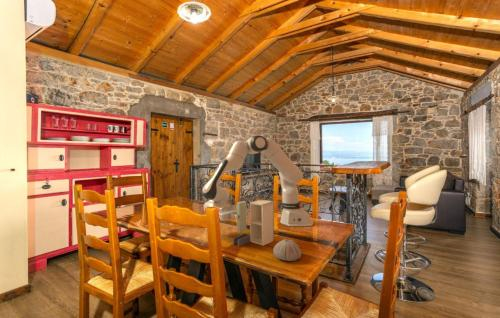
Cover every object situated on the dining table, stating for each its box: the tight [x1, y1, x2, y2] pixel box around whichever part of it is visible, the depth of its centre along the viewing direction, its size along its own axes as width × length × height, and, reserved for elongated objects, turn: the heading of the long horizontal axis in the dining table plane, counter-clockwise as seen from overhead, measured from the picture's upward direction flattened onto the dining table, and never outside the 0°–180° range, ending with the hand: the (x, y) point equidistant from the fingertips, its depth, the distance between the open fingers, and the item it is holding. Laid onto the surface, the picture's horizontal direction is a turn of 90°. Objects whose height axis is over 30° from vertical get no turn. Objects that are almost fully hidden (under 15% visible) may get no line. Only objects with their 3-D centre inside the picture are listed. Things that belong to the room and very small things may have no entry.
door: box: [236, 200, 247, 234], centre depth 138 cm, size 3×6×16 cm, turn 139°
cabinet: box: [232, 199, 275, 247], centre depth 138 cm, size 14×19×22 cm
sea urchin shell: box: [272, 239, 302, 262], centre depth 119 cm, size 13×14×8 cm
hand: (242, 215), depth 137 cm, fingers closed on door, 6 cm apart
